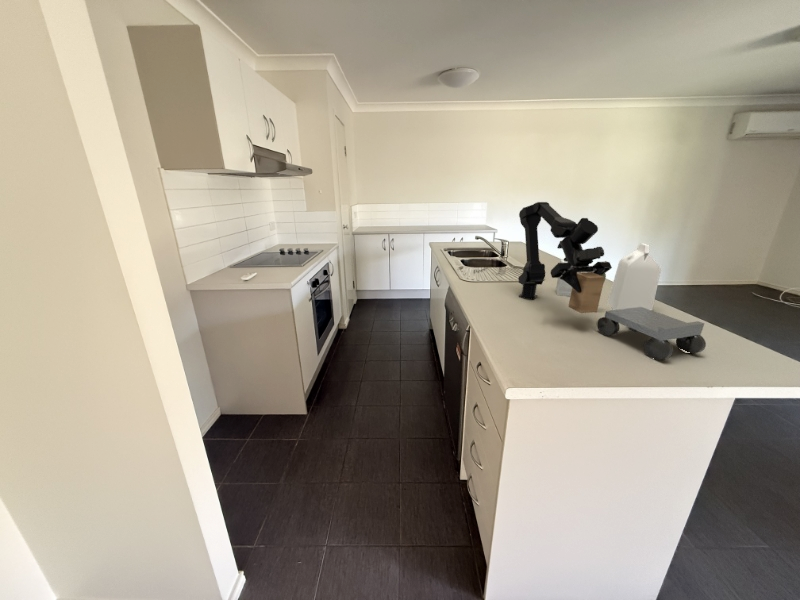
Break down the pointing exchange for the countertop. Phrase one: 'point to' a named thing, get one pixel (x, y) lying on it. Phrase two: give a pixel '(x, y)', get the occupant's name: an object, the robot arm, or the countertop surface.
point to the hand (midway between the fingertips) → (589, 291)
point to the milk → (635, 280)
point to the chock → (587, 293)
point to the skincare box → (563, 286)
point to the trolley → (655, 330)
